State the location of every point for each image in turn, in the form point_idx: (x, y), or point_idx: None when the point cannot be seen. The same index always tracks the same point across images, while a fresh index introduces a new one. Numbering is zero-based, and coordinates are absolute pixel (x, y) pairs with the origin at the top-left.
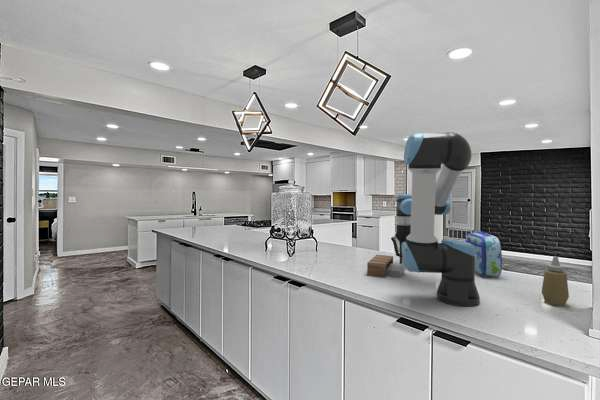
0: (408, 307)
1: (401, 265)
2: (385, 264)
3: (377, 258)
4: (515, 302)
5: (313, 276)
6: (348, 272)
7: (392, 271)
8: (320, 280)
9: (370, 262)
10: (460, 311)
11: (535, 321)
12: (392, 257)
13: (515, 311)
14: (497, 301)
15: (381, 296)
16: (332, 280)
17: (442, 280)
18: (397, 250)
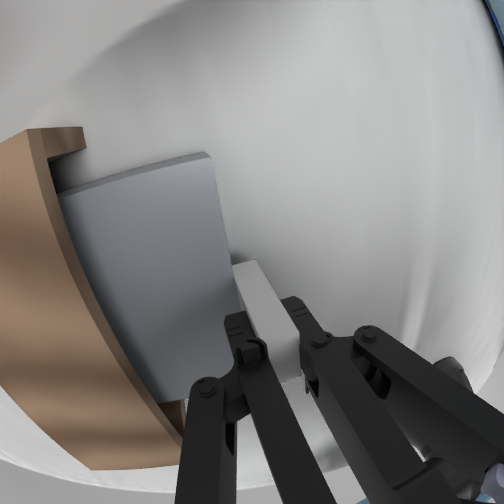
0: (327, 471)
1: (197, 217)
2: None
3: (20, 375)
4: (500, 317)
5: (20, 460)
6: (11, 401)
7: None
8: (64, 477)
9: (100, 466)
10: None
11: (477, 374)
12: (44, 185)
13: (478, 361)
14: (481, 338)
15: (265, 480)
16: (80, 473)
17: (416, 447)
18: (235, 467)
